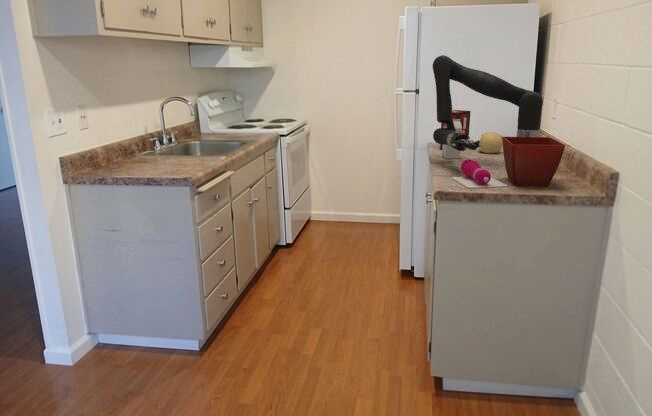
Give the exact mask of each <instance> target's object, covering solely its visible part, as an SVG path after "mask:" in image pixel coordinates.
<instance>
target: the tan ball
mask: <svg viewBox="0 0 652 416" xmlns="http://www.w3.org/2000/svg"><path fill="white" fill-rule="evenodd" d="M503 137H504V136H503V134H499V133H497V132H494V131H491V132H484V133H482V134H481V137H480V138H479V141H480V147H478V149H479V150H480V151H481V152H482V153H486V154H496V153H499V152H500V151H501V149H502V148H503Z"/></svg>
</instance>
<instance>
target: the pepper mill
mask: <svg viewBox="0 0 652 416" xmlns="http://www.w3.org/2000/svg"><path fill="white" fill-rule="evenodd" d="M460 171H461V172H462V173H463V175H464V177H465V176H466V177H468V178H474V179H475V181H476V182H477V183H478V184H480V185H485V184H487V183H488V182H489V181H490V179H491V178H492V176H491V172H489V170H487V169H484V168H482V166H481V165H480V163H479V162H478V161H475V160H473V159H466V160H464V161H463V162H462V163H461V165H460Z"/></svg>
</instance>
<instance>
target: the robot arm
mask: <svg viewBox="0 0 652 416" xmlns="http://www.w3.org/2000/svg"><path fill="white" fill-rule="evenodd" d="M432 71H433V77H434V80H435V82H434V83H435V91H436V93H435V94H436V121H437V122H438V123H439V124H441V123H444V124H446V126H447V128H441V127H440V128H436V129H435V130H434V132H433V134H432V137H433V141H434V142H435V143H436V144H438V145H440V144H444V145H448V146H450V147H452V148H454V149H456V150H458V151H460V152H464V151H466V150H471V151H476V150H477V149H479V147H480V139H479V140H475V141H474V140H473V139H471V138H470V135H469V136H468V135H466V134H464V133H461V132H456V130H455V127H454V123H453V118H452V111H453V102H452V94H451V86H450V84H451V82H450V81H451V80H452V81H454V82H457V83H460V84H462V85H463V86H465V87H467V88H469V89H470V90H472V91H475V92H476V93H479V94H481V95H483V96H486V97H489V98H492V99H496V100H500V101H505V102H508V103H510V104H512V105H514V106H517V107H518V113H517V115H518V116H517V131H516V137H540V130H541V119H542V111H543V105H544V104H543V103H544V99H543V96H542V95H541V94H540V93H538V92H537V91H534V90H533V91H532V90H529V89H525V88H522V87H518V86H516V85H514V84H512V83H510V82H508V81H506V80H505V79H502V78H500V77H498V76H496V75H494V74H491V73H489V72H486V71H483V70H481V69H480V70H479V69H474V68H470V67H468V66H464V65H463V64H460V63H458V62H456V61H454V60H453V59H452V58H451V57H449V56H447V55H442V54H441V55H439V56H437V57H436V58H435V59H433V63H432Z"/></svg>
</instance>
